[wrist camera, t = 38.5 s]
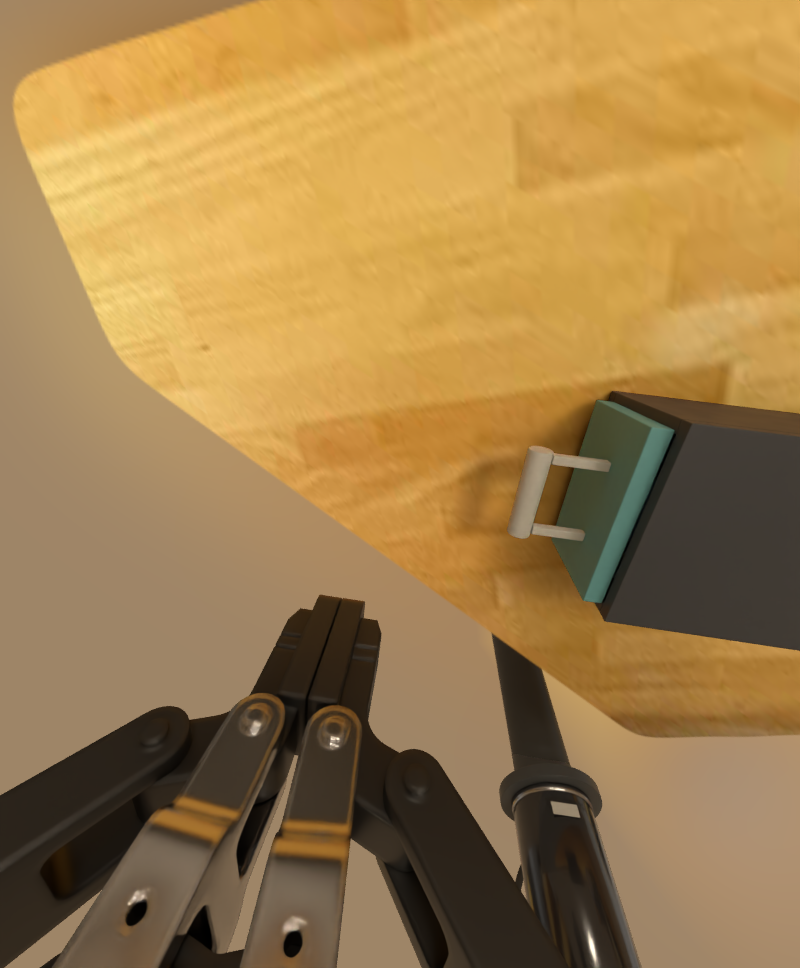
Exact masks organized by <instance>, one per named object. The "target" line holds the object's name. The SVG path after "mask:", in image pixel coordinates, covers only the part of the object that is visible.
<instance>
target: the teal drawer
mask: <svg viewBox="0 0 800 968" xmlns="http://www.w3.org/2000/svg"><path fill="white" fill-rule="evenodd" d="M674 432H675V430H673V429H671V428H669V427H667V426H665V425H663V424H660V423H658V422H656V421H654V420H652V419H650V418H647V417H645V416H643V415H641V414H639V413H637V412H634V411H632V410H630V409H628V408H626V407H624V406H621V405H619V404H617V403H615V402H611V401H603V400H597V401H596V403H595V407H594V410H593V413H592V416H591V419H590V422H589V425H588V428H587V431H586V434H585V437H584V440H583V444H582V447H581V450H580V453H579V456H572V455H564V454H557V453H554V452H553V451H552V450H550V449H548V448H545V447H541V446H530V447H529V448H528V451H527V455H526V459H525V463H524V466H523V470H522V474H521V478H520V482H519V485H518V489H517V493H516V497H515V501H514V504H513V508H512V512H511V516H510V520H509V524H508V527H507V531H508V533H509V534H510V535H512V536H514V537H516V538H521V539H525V538H528V537H529V536H530V532H531V534H535V535H542V536H549V537H552V541H553V543H554V545H555V547H556V549H557V551H558V553H559V555H560V557H561V559H562V561H563V563H564V565H565V567H566V569H567V570H568V572H569V574H570V576H571V578H572V580H573V582H574V584H575V586H576V588H577V590H578V592H579V594H580V596H581V598H582V600H583V601H589V602H595V603H602V601H603V599H604V596H605V594H606V592H607V589H608V587H609V585H610V582H611V580H612V578H615V576H616V574H617V571H618V569H619V567H620V564H621V562H622V560H623V557H624V555H625V553H626V550H627V548H628V546H629V543H630V541H628V540H629V538H630V535H631V533H632V531H633V528H634V526H635V524H636V521H637V519H638V517H639V514H640V512H641V509H642V507H643V505H644V502H645V500H646V498H647V495H648V493H649V491H650V488H651V486H652V484H653V481H654V479H655V477H656V474H657V472H658V470H659V467H660V465H661V462H663V463H664V462H665V459H666V457H667V455H668V452H669V450H670V448H671V445H672V443H673V441H674V438H675V436H676V434H674ZM550 464H552V465H558V466H566V467H573V468H574V471H573V474H572V477H571V481H570V484H569V487H568V490H567V493H566V496H565V499H564V502H563V505H562V508H561V511H560V514H559V518H558V521H557V524H556V526H551V525H544V524H537V523H533V522H534V519H535V515H536V512H537V509H538V505H539V502H540V498H541V495H542V492H543V488H544V485H545V481H546V478H547V475H548V471H549V468H550Z"/></svg>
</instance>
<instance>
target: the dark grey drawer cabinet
mask: <svg viewBox="0 0 800 968" xmlns="http://www.w3.org/2000/svg"><path fill="white" fill-rule="evenodd" d="M608 401H611V402H615V403H617V404H619V405H621V406H624V407H626V408H628V409H630V410H632V411H634V412H637V413H639V414H641V415H643V416H645V417H647V418H650V419H652V420H654V421H656V422H658V423H660V424H663V425H665V426H667V427H669V428H671V429H673V430H675V432H674V434H676V436H675V438H674V441H673V443H672V445H671V448H670V450H669V452H668V455H667V457H666V459H665V462H664V464H663V466H662V469H661V471H660V473H659V476H658V478H657V480H656V483H655V485H654V487H653V490H652V492H651V494H650V497H649V499H648V501H647V504H646V506H645V508H644V511H643V513H642V515H641V518H640V520H639V522H638V525H637V527H636V529H635V532H634V534H633V536H632V539H631V541H630V543H629V546H628V548H627V550H626V553H625V555H624V557H623V560H622V562H621V564H620V567H619V569H618V571H617V574H616V576H615V578H612V580H611V582H610V585H609V587H608V589H607V592H606V594H605V596H604V599H603V601H602V603H595V604H596V606H597V608H598V610H599V611H600V614H601V615H602V617H603V619H604V621H606V622H612V623H619V624H626V625H632V626H639V627H646V628H652V629H659V630H666V631H672V632H679V633H686V634H692V635H699V636H706V637H712V638H719V639H726V640H732V641H739V642H746V643H752V644H759V645H766V646H772V647H779V648H786V649H792V650H799V651H800V414H796V413H788V412H780V411H772V410H764V409H756V408H748V407H739V406H731V405H723V404H715V403H707V402H699V401H691V400H683V399H674V398H666V397H658V396H650V395H642V394H634V393H626V392H618V391H612V392H611V394H610V397H609V400H608Z"/></svg>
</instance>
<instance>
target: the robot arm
mask: <svg viewBox="0 0 800 968" xmlns="http://www.w3.org/2000/svg"><path fill="white" fill-rule="evenodd" d="M364 608H365V602H364V601H358V600H351V599H345V598H343V599H342V598H338V597H332V596H325V595H319V597H318V599H317V601H316V603H315V606H314V608H313V610H307V609H300V610H299V611H297V612H296V613H295V614H294V615H293V616H291V617H290V619H288V621H287V623H286V625H285V627H284V629H283V631H282V633H281V636H280V637H279V639H278V641H277V643H276V646H275V647H274V649H273V651H272V653H271V655H270V657H269V659H268V661H267V663H266V665H265V667H264V669H263V671H262V673H261V675H260V677H259V679H258V681H257V683H256V685H255V686H254V688H253V690H252V692H251V694H250V695H249V696H248V697H246V698H244V699H242V700H241V701H239V702H238V703H237V704H236V705H235V706H234V707H233V708H232V710H231V711H229V712H227V713H224V714H221V715H217V716H211V717H205V718H199V719H193V720H189V718H188V715H187V714H186V713H185V711H183V710H182V709H180V708H178V707H174V706H173V707H172V706H166V707H160V708H156V709H154V710H151V711H149V712H147V713H145V714H143V715H142V716H140V717H138V718H136V719H135V720H133V721H131V722H129V723H127V724H126V725H124V726H122V727H120V728H119V729H117V730H115V731H113V732H111V733H110V734H108V735H106V736H104V737H103V738H101V739H99V740H98V741H96V742H94V743H92V744H90V745H89V746H87V747H85V748H83V749H81V750H80V751H78V752H76V753H75V754H73V755H71V756H69V757H67V758H66V759H64V760H62V761H60V762H58V763H57V764H55V765H53V766H51V767H50V768H48V769H46V770H45V771H43V772H41V773H39V774H37V775H36V776H34V777H32V778H30V779H28V780H27V781H25V782H23V783H21V784H20V785H18V786H16V787H14V788H13V789H11V790H9V791H7V792H6V793H4V794H2V795H0V968H4V967H5V966H7V965H8V964H9V963H10V962H12V961H13V960H14V959H15V958H17V957H18V956H19V955H20V954H22V953H23V952H24V951H25V950H27V949H28V948H29V947H31V946H32V945H33V944H34V943H36V942H37V941H38V940H39V939H40V938H42V937H43V936H44V935H46V934H47V933H48V932H49V931H51V930H52V929H53V928H54V927H56V926H57V925H58V924H59V923H61V922H62V921H63V920H64V919H66V918H67V917H68V916H69V915H71V914H72V913H73V912H75V911H76V910H77V909H78V908H80V907H81V906H82V905H83V904H85V903H86V902H87V901H88V900H90V899H91V898H92V897H93V896H94V895H96V894H97V893H98V892H100V891H101V890H102V891H101V892H100V894H99V896H98V897H97V899H96V900H95V902H94V903H93V905H92V906H91V908H90V910H89V911H88V913H87V914H86V916H85V917H84V919H83V920H82V922H81V923H80V925H79V926H78V928H77V929H76V931H75V933H74V934H73V936H72V937H71V939H70V940H69V942H68V943H67V945H66V946H65V948H64V950H63V951H62V953H60V954H58V955H57V956H55V957H54V958H53V959H51V960H50V961H48V962H47V963H46V964H44V965H43V966H42V967H40V968H336V967H337V958H338V949H339V940H340V931H341V922H342V912H343V904H344V895H345V885H346V876H347V867H348V858H349V848H350V839H353V840H354V841H355V842H357V843H358V844H360V845H361V846H362V847H364V848H365V849H367V850H368V851H370V852H371V853H372V854H374V855H375V856H376V859H377V862H378V865H379V867H380V870H381V872H382V874H383V877H384V879H385V881H386V884H387V886H388V889H389V891H390V894H391V896H392V898H393V900H394V903H395V905H396V908H397V910H398V912H399V915H400V917H401V920H402V922H403V924H404V927H405V929H406V931H407V934H408V936H409V938H410V941H411V943H412V946H413V948H414V950H415V953H416V955H417V957H418V960H419V962H420V965H421V967H422V968H642V966H641V963H640V960H639V957H638V954H637V951H636V947H635V944H634V941H633V938H632V935H631V932H630V928H629V925H628V922H627V919H626V915H625V913H624V909H623V906H622V903H621V900H620V896H619V893H618V890H617V887H616V884H615V880H614V878H613V874H612V871H611V868H610V865H609V861H608V858H607V855H606V852H605V849H604V845H603V842H602V839H601V836H600V832H599V829H598V826H597V823H596V820H595V816H594V811H593V807H592V804H591V801H590V799H589V797H588V796H587V795H586V794H585V793H584V792H583V791H582V790H580V789H578V788H576V787H574V786H571V785H568V784H564V783H558V782H542V783H536V784H532V785H529V786H526V787H524V788H522V789H520V790H519V791H518V792H517V793H516V794H515V795H514V796H513V798H512V802H511V805H512V812H513V816H514V820H515V826H516V833H517V839H518V847H519V853H520V860H521V866H520V868H519V871H518V874H517V878H516V882H514V880H513V878H512V877H511V875H510V874H509V872H508V870H507V869H506V867H505V866H504V864H503V863H502V861H501V859H500V858H499V857H498V855H497V853H496V852H495V850H494V849H493V847H492V846H491V844H490V842H489V841H488V839H487V838H486V836H485V834H484V833H483V831H482V830H481V828H480V827H479V825H478V823H477V822H476V820H475V819H474V817H473V816H472V814H471V813H470V811H469V809H468V808H467V806H466V805H465V803H464V802H463V800H462V798H461V797H460V795H459V794H458V792H457V791H456V789H455V787H454V786H453V784H452V783H451V781H450V780H449V778H448V777H447V775H446V773H445V772H444V770H443V769H442V767H441V766H440V764H439V763H438V761H437V760H436V759H434V757H432V756H431V755H430V754H428V753H426V752H424V751H421V750H417V749H410V750H405V751H403V752H401V753H399V752H397V751H395V750H393V749H391V748H390V747H388V746H386V745H385V744H383V743H382V742H381V741H380V740H379V739H377V737H376V736H375V735H374V734H373V732H372V730H371V728H370V726H369V722H368V717H369V711H370V706H371V700H372V694H373V688H374V683H375V677H376V671H377V666H378V658H379V650H380V642H381V631H380V628H379V625H378V621H377V620H370V619H365V618H364ZM294 755H299V756H298V760H297V764H296V768H295V772H294V776H293V780H292V784H291V788H290V792H289V797H288V800H287V804H286V808H285V812H284V816H283V820H282V824H281V827H280V829H279V832H277V833H276V835H275V838H274V840H273V843H272V846H271V850H270V853H269V857H268V860H267V864H266V868H265V872H264V875H263V879H262V883H261V887H260V891H259V895H258V898H257V902H256V907H255V910H254V914H253V918H252V922H251V926H250V929H249V934H248V937H247V941H246V945H245V949H243V950H238V951H233V952H228V953H227V950H228V947H229V945H230V942H231V939H232V937H233V934H234V931H235V928H236V925H237V922H238V919H239V916H240V912H241V908H242V904H243V898H244V894H245V890H246V887H247V884H248V881H249V878H250V876H251V873H252V870H253V868H254V865H255V863H256V860H257V858H258V855H259V853H260V850H261V848H262V845H263V843H264V840H265V837H266V835H267V833H268V830H269V828H270V825H271V823H272V820H273V817H274V815H275V812H276V810H277V808H278V805H279V802H280V800H281V797H282V795H283V792H284V789H285V786H286V780H287V779H286V778H287V775H288V773H289V769H290V766H291V764H292V760H293V757H294ZM523 879H524V885H525V892H526V898H527V900H526V899H525V897H524V895H523V894H522V893H521V887H522V883H523Z"/></svg>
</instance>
